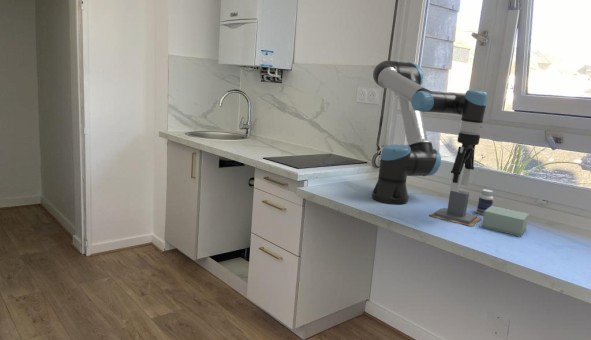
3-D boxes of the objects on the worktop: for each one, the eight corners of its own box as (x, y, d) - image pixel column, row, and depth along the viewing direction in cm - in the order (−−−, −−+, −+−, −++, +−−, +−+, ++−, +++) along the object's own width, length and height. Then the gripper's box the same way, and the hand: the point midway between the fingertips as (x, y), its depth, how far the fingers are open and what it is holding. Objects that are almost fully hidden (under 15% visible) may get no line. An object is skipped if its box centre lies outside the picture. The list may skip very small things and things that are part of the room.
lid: (434, 215, 168) (438, 190, 166) (443, 209, 177) (447, 186, 175) (469, 224, 160) (473, 197, 158) (476, 217, 169) (481, 193, 167)
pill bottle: (492, 216, 175) (496, 192, 173) (477, 214, 176) (482, 191, 174) (488, 212, 180) (493, 189, 178) (475, 210, 181) (479, 188, 179)
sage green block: (481, 226, 160) (484, 211, 159) (488, 220, 169) (491, 205, 167) (520, 236, 152) (524, 220, 151) (526, 229, 161) (529, 213, 160)
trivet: (429, 216, 167) (429, 215, 167) (440, 209, 179) (441, 208, 179) (472, 227, 158) (472, 226, 158) (481, 219, 170) (481, 218, 169)
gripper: (470, 136, 150) (459, 196, 155) (488, 132, 170) (478, 185, 174) (449, 133, 154) (439, 191, 159) (468, 129, 174) (459, 180, 179)
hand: (459, 188), depth 167 cm, fingers open, 13 cm apart
